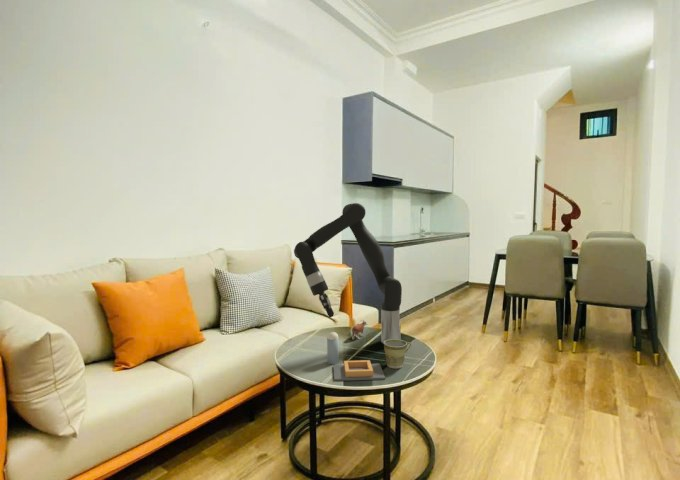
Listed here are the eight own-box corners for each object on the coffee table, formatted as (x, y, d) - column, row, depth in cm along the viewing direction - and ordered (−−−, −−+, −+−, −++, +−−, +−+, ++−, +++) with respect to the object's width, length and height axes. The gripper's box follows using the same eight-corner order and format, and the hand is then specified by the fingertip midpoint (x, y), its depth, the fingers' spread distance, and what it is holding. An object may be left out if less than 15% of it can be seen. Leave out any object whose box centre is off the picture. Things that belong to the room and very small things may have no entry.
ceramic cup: (391, 371, 153) (391, 348, 153) (379, 363, 163) (379, 340, 162) (417, 366, 159) (417, 343, 158) (404, 358, 168) (404, 336, 167)
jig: (379, 365, 160) (379, 358, 160) (385, 379, 146) (385, 372, 146) (333, 366, 159) (333, 359, 159) (334, 380, 145) (334, 373, 145)
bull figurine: (368, 334, 203) (368, 319, 203) (356, 341, 192) (356, 325, 192) (361, 333, 206) (361, 318, 205) (349, 339, 194) (349, 324, 194)
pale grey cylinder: (338, 359, 167) (338, 330, 166) (338, 364, 162) (338, 333, 161) (327, 360, 167) (327, 330, 166) (327, 364, 162) (327, 334, 161)
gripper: (323, 279, 162) (339, 313, 160) (325, 279, 176) (339, 311, 174) (307, 286, 162) (323, 321, 160) (310, 286, 176) (325, 318, 174)
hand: (331, 316), depth 167 cm, fingers open, 8 cm apart
